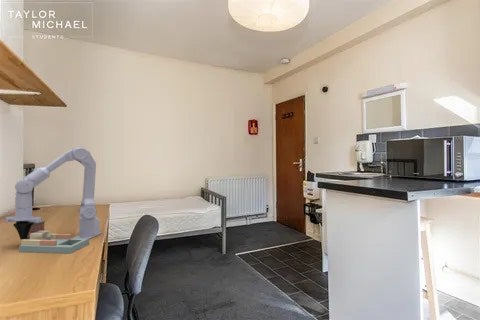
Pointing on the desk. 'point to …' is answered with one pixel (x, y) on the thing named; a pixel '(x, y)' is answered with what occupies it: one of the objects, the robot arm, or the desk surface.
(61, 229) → the desk surface
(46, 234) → the block
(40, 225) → the lighter
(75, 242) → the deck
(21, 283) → the desk surface
